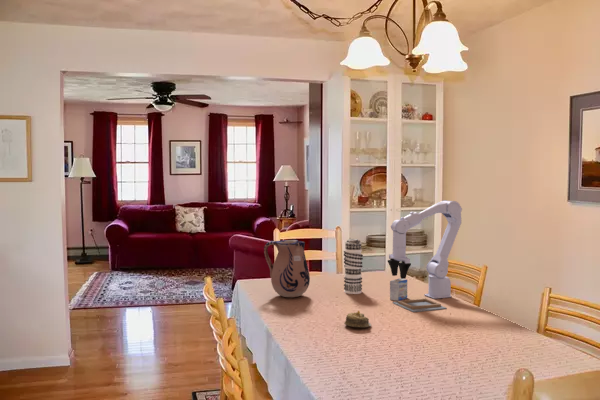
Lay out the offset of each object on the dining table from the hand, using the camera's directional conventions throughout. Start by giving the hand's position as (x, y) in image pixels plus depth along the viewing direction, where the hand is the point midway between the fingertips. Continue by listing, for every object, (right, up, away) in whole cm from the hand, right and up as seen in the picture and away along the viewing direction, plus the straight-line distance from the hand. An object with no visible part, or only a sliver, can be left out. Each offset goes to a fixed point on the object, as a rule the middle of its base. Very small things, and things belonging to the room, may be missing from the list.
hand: (398, 277), depth 231 cm
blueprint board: (+6, -11, -12) cm, 17 cm away
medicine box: (0, -10, 0) cm, 10 cm away
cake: (-23, -12, -40) cm, 48 cm away
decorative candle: (-19, -9, +14) cm, 26 cm away
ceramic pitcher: (-50, -10, +6) cm, 52 cm away
